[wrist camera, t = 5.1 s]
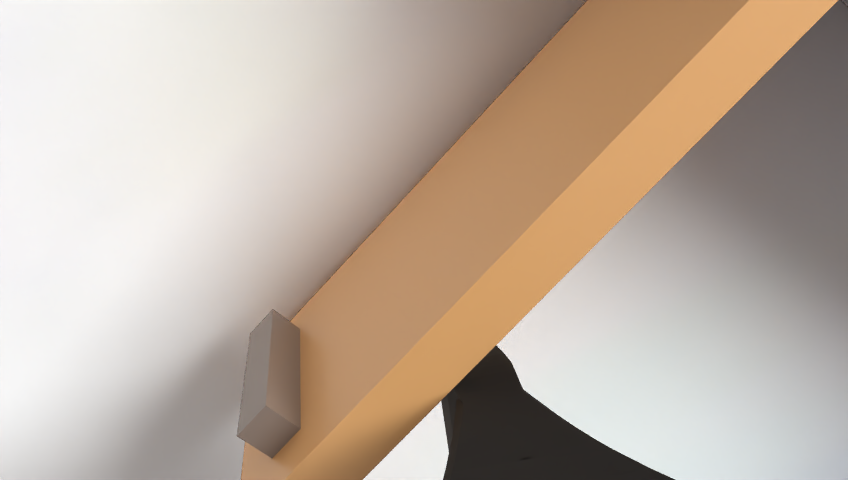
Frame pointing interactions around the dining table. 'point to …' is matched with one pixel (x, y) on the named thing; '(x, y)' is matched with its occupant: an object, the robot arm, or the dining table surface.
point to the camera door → (499, 225)
